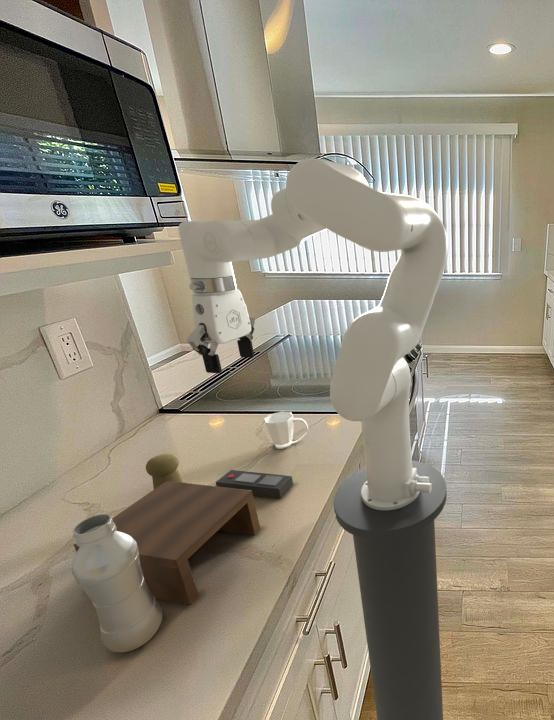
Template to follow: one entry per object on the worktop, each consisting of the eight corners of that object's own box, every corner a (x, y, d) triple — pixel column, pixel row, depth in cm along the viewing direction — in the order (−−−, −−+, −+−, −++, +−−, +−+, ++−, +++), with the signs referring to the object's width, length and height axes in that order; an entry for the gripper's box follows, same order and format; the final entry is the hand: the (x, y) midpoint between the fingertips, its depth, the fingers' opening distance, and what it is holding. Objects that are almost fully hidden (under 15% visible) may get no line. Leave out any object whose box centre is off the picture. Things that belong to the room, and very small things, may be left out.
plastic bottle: (170, 606, 60) (132, 499, 54) (161, 646, 55) (117, 532, 48) (116, 626, 57) (68, 515, 51) (100, 670, 52) (45, 552, 45)
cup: (272, 439, 106) (266, 412, 104) (311, 434, 109) (307, 408, 106) (266, 453, 100) (260, 425, 97) (308, 447, 103) (303, 420, 100)
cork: (162, 496, 84) (147, 452, 81) (195, 490, 86) (182, 446, 83) (151, 515, 79) (135, 468, 75) (187, 508, 81) (173, 462, 77)
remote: (293, 484, 88) (291, 475, 87) (280, 498, 84) (278, 488, 83) (233, 478, 90) (230, 468, 89) (217, 491, 86) (215, 481, 85)
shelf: (260, 529, 76) (251, 490, 73) (190, 605, 61) (175, 560, 58) (178, 518, 78) (166, 480, 75) (92, 588, 63) (73, 544, 60)
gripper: (195, 293, 71) (216, 380, 77) (259, 279, 87) (273, 352, 93) (159, 292, 72) (182, 378, 78) (229, 279, 89) (244, 351, 94)
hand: (231, 364), depth 86 cm, fingers open, 9 cm apart
